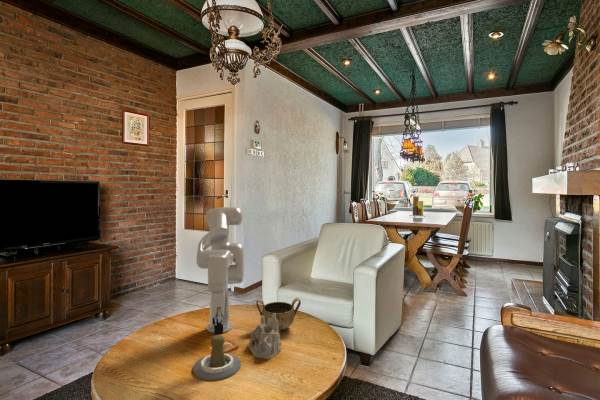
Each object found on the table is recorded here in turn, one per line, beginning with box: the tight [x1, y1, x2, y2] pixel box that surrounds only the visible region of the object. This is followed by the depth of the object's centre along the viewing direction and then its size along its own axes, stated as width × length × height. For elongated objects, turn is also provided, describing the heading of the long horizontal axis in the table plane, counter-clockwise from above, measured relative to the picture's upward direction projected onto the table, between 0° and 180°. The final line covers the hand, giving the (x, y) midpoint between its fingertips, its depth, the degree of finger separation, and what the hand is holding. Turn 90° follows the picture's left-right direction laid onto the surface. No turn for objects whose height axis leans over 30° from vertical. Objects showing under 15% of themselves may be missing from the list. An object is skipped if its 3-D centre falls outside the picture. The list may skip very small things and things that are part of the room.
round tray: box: [192, 352, 242, 381], centre depth 128 cm, size 18×18×2 cm
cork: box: [210, 334, 225, 368], centre depth 128 cm, size 6×6×11 cm
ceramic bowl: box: [255, 297, 302, 332], centre depth 165 cm, size 22×17×15 cm
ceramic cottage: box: [248, 313, 283, 360], centre depth 143 cm, size 16×16×15 cm
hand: (217, 328), depth 128 cm, fingers open, 9 cm apart
